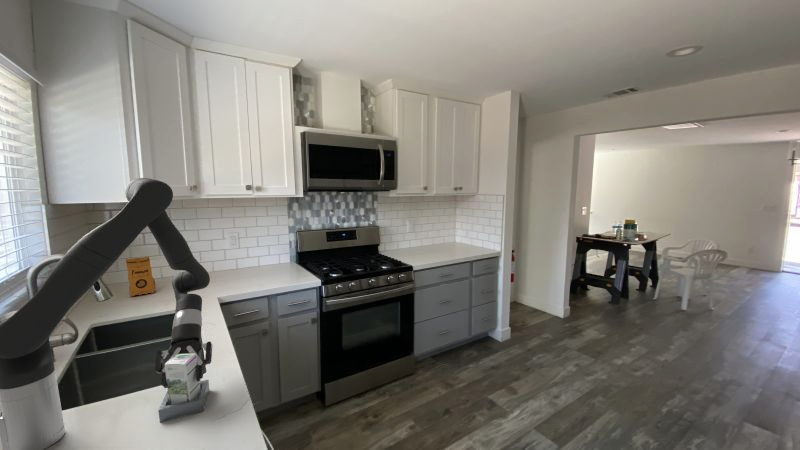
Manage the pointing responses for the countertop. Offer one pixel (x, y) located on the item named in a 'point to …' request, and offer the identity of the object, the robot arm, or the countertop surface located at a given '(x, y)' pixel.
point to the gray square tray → (184, 405)
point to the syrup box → (182, 378)
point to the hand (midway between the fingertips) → (182, 383)
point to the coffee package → (140, 276)
